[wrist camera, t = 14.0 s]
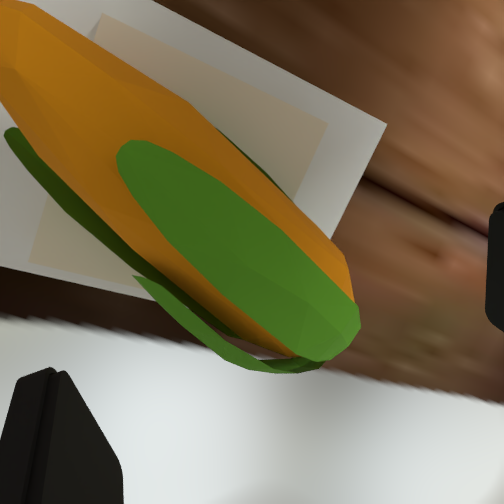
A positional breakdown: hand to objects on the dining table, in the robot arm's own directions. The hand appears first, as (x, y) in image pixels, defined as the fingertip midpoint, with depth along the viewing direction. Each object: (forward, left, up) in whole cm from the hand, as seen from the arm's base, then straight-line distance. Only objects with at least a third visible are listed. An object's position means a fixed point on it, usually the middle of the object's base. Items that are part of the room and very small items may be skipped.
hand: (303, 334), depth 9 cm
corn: (+1, -1, -13) cm, 13 cm away
